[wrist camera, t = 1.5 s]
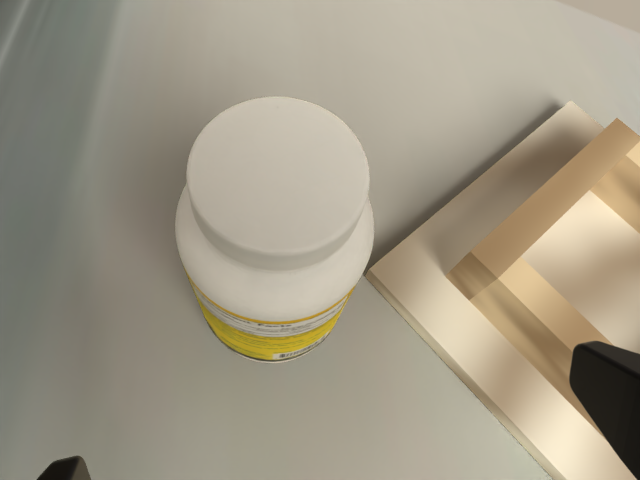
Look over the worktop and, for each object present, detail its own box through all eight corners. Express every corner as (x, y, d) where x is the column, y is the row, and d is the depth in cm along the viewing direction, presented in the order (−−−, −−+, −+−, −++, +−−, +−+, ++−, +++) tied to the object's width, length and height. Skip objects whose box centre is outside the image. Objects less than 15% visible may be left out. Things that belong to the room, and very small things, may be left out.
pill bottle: (252, 212, 24) (247, 36, 14) (362, 277, 23) (439, 140, 13) (173, 318, 22) (98, 196, 12) (293, 394, 21) (324, 334, 11)
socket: (805, 318, 25) (897, 294, 22) (640, 572, 20) (726, 597, 16) (560, 111, 29) (604, 61, 25) (364, 276, 23) (384, 242, 20)
